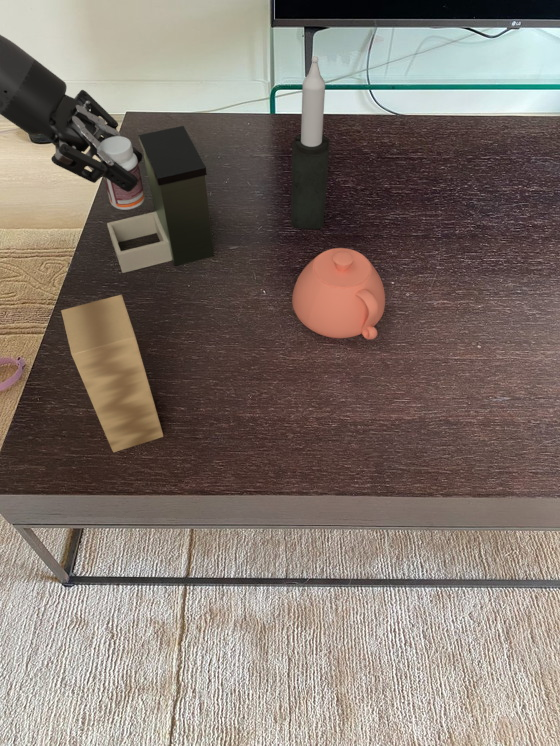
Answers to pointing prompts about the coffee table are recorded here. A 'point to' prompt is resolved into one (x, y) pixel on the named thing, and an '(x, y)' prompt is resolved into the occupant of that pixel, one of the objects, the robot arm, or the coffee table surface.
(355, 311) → the sugar bowl
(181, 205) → the dispenser
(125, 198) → the pill bottle
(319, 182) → the candle
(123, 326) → the stand
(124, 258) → the dock
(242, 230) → the coffee table surface
